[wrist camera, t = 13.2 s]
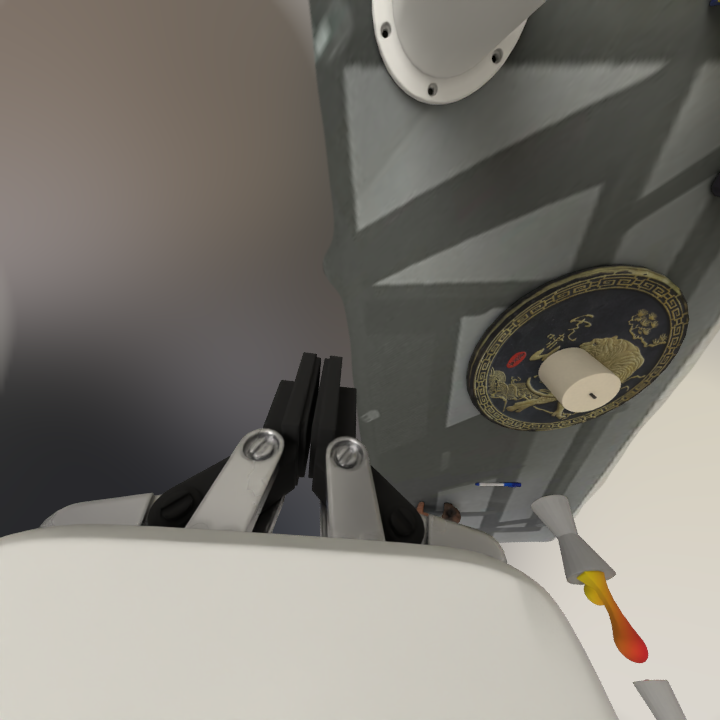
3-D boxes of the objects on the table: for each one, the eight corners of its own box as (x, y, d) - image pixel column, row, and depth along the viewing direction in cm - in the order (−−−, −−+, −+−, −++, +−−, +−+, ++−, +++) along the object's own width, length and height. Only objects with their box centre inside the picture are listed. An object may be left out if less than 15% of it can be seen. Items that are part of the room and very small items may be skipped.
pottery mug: (439, 517, 73) (429, 546, 67) (414, 491, 73) (402, 519, 67) (474, 510, 64) (466, 544, 58) (446, 482, 65) (435, 512, 59)
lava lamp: (537, 494, 65) (675, 748, 37) (575, 494, 65) (743, 748, 36) (525, 512, 70) (638, 747, 42) (560, 512, 70) (697, 747, 42)
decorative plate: (429, 388, 43) (623, 212, 28) (426, 380, 44) (610, 209, 30) (542, 451, 53) (729, 345, 38) (536, 443, 54) (714, 338, 40)
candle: (555, 344, 38) (588, 373, 33) (599, 350, 39) (639, 381, 33) (529, 381, 42) (554, 413, 37) (569, 387, 43) (601, 419, 37)
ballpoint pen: (520, 481, 62) (523, 485, 61) (519, 483, 63) (521, 487, 62) (475, 482, 62) (476, 486, 61) (474, 484, 63) (475, 488, 62)
